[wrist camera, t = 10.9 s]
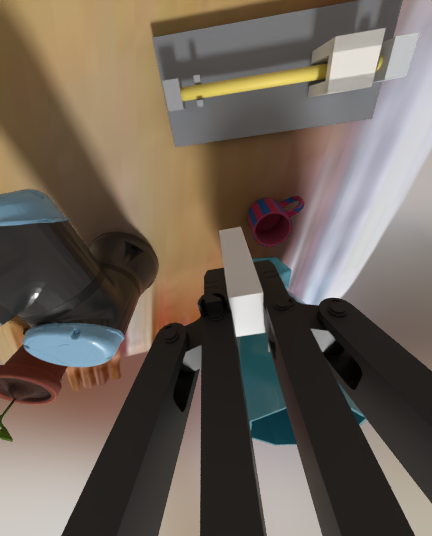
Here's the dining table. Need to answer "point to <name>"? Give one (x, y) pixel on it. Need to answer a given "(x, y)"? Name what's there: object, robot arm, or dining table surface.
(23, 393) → the potted plant
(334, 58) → the sleeve
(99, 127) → the dining table surface
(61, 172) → the dining table surface
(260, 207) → the mug
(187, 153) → the dining table surface
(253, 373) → the vase
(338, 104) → the linear slide mechanism
